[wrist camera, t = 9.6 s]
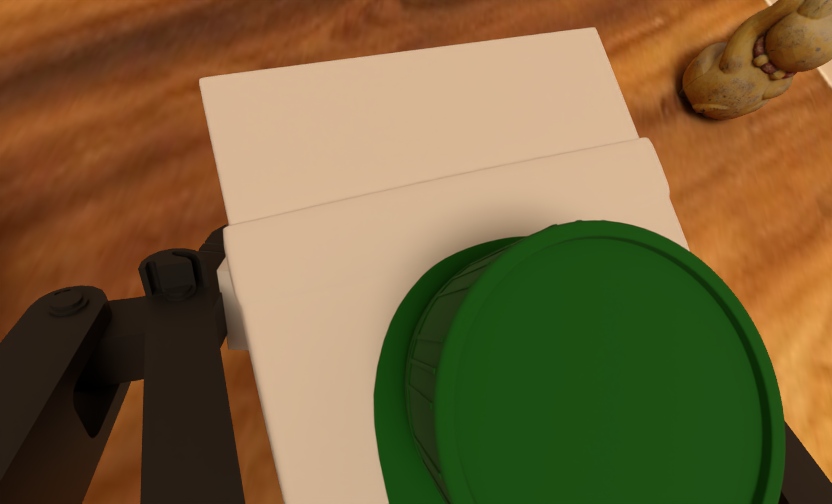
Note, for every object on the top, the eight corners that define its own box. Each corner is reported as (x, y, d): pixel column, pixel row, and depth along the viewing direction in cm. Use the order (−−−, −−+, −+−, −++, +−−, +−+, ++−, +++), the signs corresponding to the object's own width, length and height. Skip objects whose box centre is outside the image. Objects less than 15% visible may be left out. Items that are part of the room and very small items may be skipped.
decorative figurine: (742, 98, 50) (901, 5, 35) (722, 145, 48) (882, 67, 33) (682, 57, 50) (818, -54, 35) (659, 103, 48) (794, 6, 33)
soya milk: (331, 404, 22) (204, 981, 3) (296, 255, 23) (34, -115, 4) (471, 358, 24) (1002, 488, 4) (430, 223, 25) (705, -130, 6)
